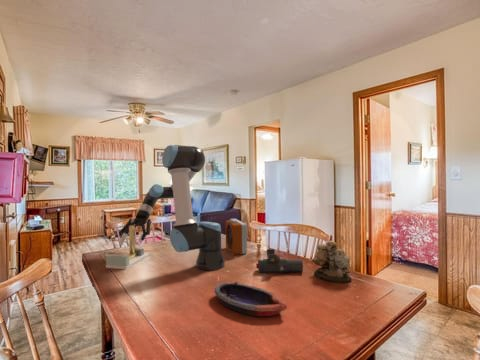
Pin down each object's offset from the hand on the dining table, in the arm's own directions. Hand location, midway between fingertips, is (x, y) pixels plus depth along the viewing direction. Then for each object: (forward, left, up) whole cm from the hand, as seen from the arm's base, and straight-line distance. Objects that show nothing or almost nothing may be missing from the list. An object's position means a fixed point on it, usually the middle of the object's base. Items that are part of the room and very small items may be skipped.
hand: (129, 244), depth 153 cm
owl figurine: (-58, -92, -10) cm, 109 cm away
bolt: (+3, -2, -8) cm, 9 cm away
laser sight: (-43, -72, -10) cm, 84 cm away
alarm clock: (-1, -63, -10) cm, 63 cm away
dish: (-71, -46, -10) cm, 85 cm away
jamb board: (-1, 0, -10) cm, 10 cm away
